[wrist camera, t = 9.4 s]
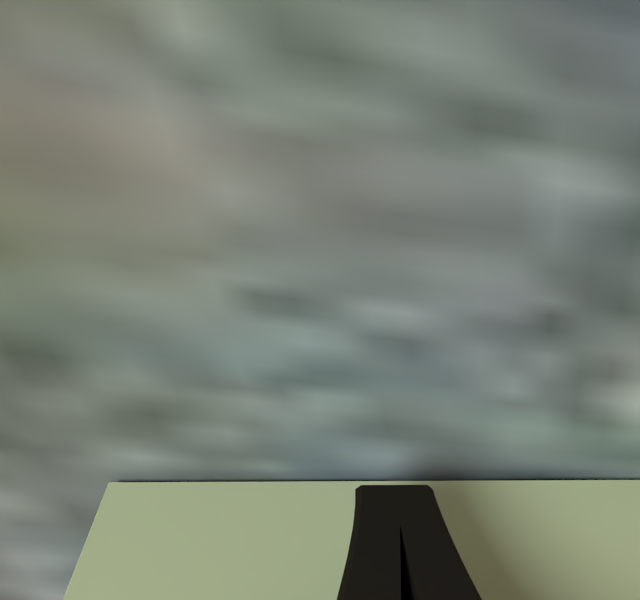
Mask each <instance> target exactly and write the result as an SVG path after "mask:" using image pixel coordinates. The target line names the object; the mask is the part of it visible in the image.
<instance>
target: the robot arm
mask: <svg viewBox="0 0 640 600" xmlns="http://www.w3.org/2000/svg"><path fill="white" fill-rule="evenodd" d="M337 600H482V599H481V597H480V595H479V593H478V591H477V589H476V587H475V585H474V583H473V581H472V579H471V578H470V576H469V574H468V572H467V570H466V568H465V566H464V564H463V562H462V559H461V557H460V555H459V553H458V551H457V549H456V546H455V544H454V542H453V540H452V538H451V536H450V533H449V531H448V529H447V526H446V524H445V521H444V519H443V516H442V514H441V511H440V509H439V506H438V503H437V500H436V498H435V495H434V491H433V489H432V488H431V487H430V486H428V485H361V486H359V487H358V488H356V489H355V511H354V521H353V528H352V535H351V540H350V545H349V550H348V555H347V560H346V564H345V568H344V572H343V576H342V580H341V584H340V588H339V592H338V596H337Z"/></svg>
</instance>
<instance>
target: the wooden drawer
mask: <svg viewBox="0 0 640 600" xmlns="http://www.w3.org/2000/svg"><path fill="white" fill-rule="evenodd" d="M361 485H428V486H430V487H431V488H432V489H433V491H434V495H435V498H436V500H437V503H438V506H439V509H440V511H441V514H442V516H443V519H444V521H445V524H446V526H447V529H448V531H449V533H450V536H451V538H452V540H453V542H454V544H455V546H456V549H457V551H458V553H459V555H460V557H461V559H462V562H463V564H464V566H465V568H466V570H467V572H468V574H469V576H470V578H471V579H472V581H473V583H474V585H475V587H476V589H477V591H478V593H479V595H480V597H481V599H482V600H640V480H507V481H298V482H109V483H108V486H107V489H106V491H105V494H104V496H103V499H102V501H101V504H100V506H99V509H98V511H97V514H96V516H95V519H94V522H93V524H92V527H91V529H90V532H89V534H88V537H87V539H86V542H85V544H84V547H83V549H82V552H81V555H80V557H79V560H78V562H77V565H76V567H75V570H74V572H73V575H72V577H71V580H70V582H69V585H68V588H67V590H66V593H65V595H64V598H63V600H337V596H338V592H339V588H340V584H341V580H342V576H343V572H344V568H345V564H346V560H347V555H348V550H349V545H350V540H351V535H352V528H353V521H354V511H355V489H356V488H358V487H359V486H361Z"/></svg>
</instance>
